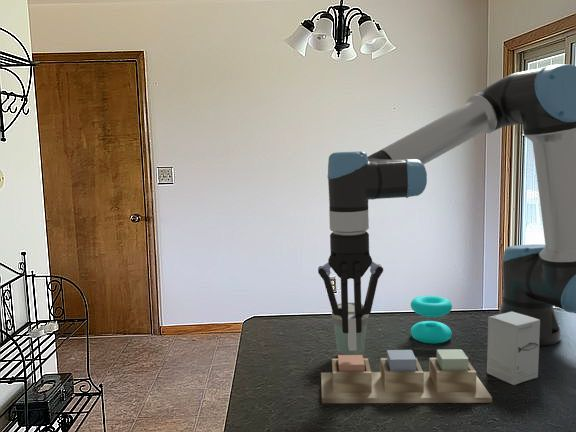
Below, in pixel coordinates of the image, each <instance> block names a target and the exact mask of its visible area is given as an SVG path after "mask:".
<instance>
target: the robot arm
mask: <svg viewBox="0 0 576 432" xmlns="http://www.w3.org/2000/svg"><path fill="white" fill-rule="evenodd" d="M515 125H522V130H523V136H524V137H525V138H526V139H528V140H529V141H531V143H532V150H533V156H534V163H535V164H534V165H535V172H536V181H537V189H538V196H539V205H540V211H541V220H542V222H541V223H542V229H543V236H544V244H520V245H512V246H510V245H509V246H508V247H506V248H505V249H504V251H503V257H502V258H503V259H502V304H501V306H500V309H499V312H498V314H497V315H499V314H503V313H508V312H516V313H519V314H523V315H526V316H530V317H533V318H536V319H539V320H540V337H539V347H540V346H550V345H551V346H552V345H554V344H557V343H558V342H560V341H561V329H560V326H559V322H558V319H557V316H556V312H555V309H554V307H556V308H558V309H561V310H563V311H565V312H567V313H571V314H573V313H574V314H576V65H575V64H571V63H570V64H569V63H566V64H565V63H562V64H549V65H546V66H542V67H538V68H532V69H528V70H523V71H518V72H514V73H511V74H509V75H506V76H505V77H502V78H500V79H499V80H497V81H496V82H494V83H492V84H490V85H489V86H487V87H485V88H483V89H481V90H480V91H478V92H476V93H475V94H473V95H471V96H469V98H468V99H467V100H466V103H465V104H463V105H461V106H459V107H458V108H456V109H454V110H452V111H451V112H449V113H446V114H445V115H443V116H441V117H439V118H437V119H436V120H434V121H432V122H430V123H428V124H426V125H424V126H422V127H420V128H419V129H417V130H415V131H413V132H411V133H409V134H408V135H406V136H404V137H402V138H400V139H398V140H396V141H395V142H393V143H391V144H389V145H387V146H385V147H383V148H381V149H380V150H378V151H376V152H374V153H372V154H370V155H368V154H367V152H365V151H339V152H338V151H337V152H333V153H331V154H330V155H329V156H328V161H327V162H328V164H327V181H328V182H327V183H328V185H327V186H328V202H329V211H328V213H329V214H328V215H329V230H330V231H331V233H330V234H329V242H330V245H329V246H330V247H329V248H330V250H329V251H330V255H329V256H328V260H327V261H328V262H326V263H325V264H323V265H320V266H318V268H317V272H318V275H319V276H320V277H321V279H322V280H323V282H324V286H325V290H326V293H327V297H328V300H329V304H330V308H331V312H332V311H333V314H334V315H338V316H340V317H341V318H342V331H343V333H348V347H349V351H357V346H356V333H361V331H362V320H361V319H362V316H364V315H366V314H367V315H368V314H369V315H370V314H371V312H372V309H373V304H374V301H375V299H374V298H375V296H376V295H375V294H376V291H377V287H378V286H377V285H378V282H379V279H380V277H381V276H382V274H383V272H384V267H383V266H382V265H381V264H380V263H379V264H378V263H376V262H375V261H373V258H372V256H371V254H370V234H369V233H368V231H369V230H368V229H370V226H369V224H370V223H369V201H370V200H372V201H373V200H381V199H398V198H406V199H408V198H411V197H417V196H420V195H422V194H423V193H424V191H425V189H426V188H427V183H428V179H427V178H428V174H427V169H426V167H425V164H428V163H429V162H431V161H432V160H435V159H437V158H439V157H440V156H443V155H445V154H446V153H447V152H450V151H451V150H453V149H455V148H457V147H458V146H461V145H462V144H465V142H467V141H469V140H471V139H473V138H475V137H476V136H478V135H480V134H491V133H493V132H495V131H497V130H499V129H502V128H505V127H509V126H515ZM369 268H370V269H369ZM331 270H332V271H333V272H334V273H335V274H336V276H337V277H338V278H340V298H341V300H340V301H341V302H340V303H341V308H339V307H338V305H337V304H338V301H337V298H336V295H335V291H334V287H333V283H332V281H331V277H330V275H331ZM367 270H369V272H370V273H371V274H370V277H369V282H368V285H367V291H366V296H365V299H364V303H363V305H364V307H362V308H361V304H362V278H363V276H364V275H365V274H366V272H367ZM351 279H353V300H354V302H353V303H354V310H355V314H353V315H348V302H349V294H348V293H349V292H348V291H349V289H348V287H349V286H348V282H349V281H348V280H351Z"/></svg>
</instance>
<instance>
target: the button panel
mask: <svg viewBox="0 0 576 432" xmlns="http://www.w3.org/2000/svg"><path fill="white" fill-rule="evenodd" d="M415 358H416V371H388V368H387V357H380V359H379V360H380V362H379V363H380V371H372V370H371V366H370V363H369V362H370V361H369V358H368V357H367V358H364V357H363V360H364V364H365V371H355V372H338V358H331V368H332V369H331V372H330V371H329V372H320V377H321V378H320V379H321V381H320V383H321V384H320V387H321V404H423V403H424V404H432V403H433V404H440V403H441V404H444V403H445V404H449V403H450V404H451V403H452V404H455V403H456V404H457V403H463V404H464V403H466V404H469V403H471V404H473V403H474V404H475V403H477V404H478V403H484V404H485V403H487V404H489V403H493V396H492V395H491V394H490V393H489V391H488V390H487V388H486V387H485V385H484V384H483V383H482V381H481V380H480V378H479V377H478V374H477V371H476V370H475V368H474V367H473V366H472V364H471V363H470V362H469V360H468V371H440V369H439V367H438V365H437V357H429V358H428V362H429V363H428V364H429V365H428V369H429V370H428V371H423V368H422V366H421V364H420V362H419V360H418V357H415Z"/></svg>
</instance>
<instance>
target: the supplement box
mask: <svg viewBox="0 0 576 432" xmlns="http://www.w3.org/2000/svg"><path fill="white" fill-rule="evenodd" d="M498 314H499V313H498ZM498 314H496V315H491V316H488V317H487V319H488V321H487V356H486V357H487V358H486V359H487V362H486V374H488V375H491V376H493V377H495V378H497V379H499V380H501V381H504V382H505V383H508V384H510V385H512V386H516V385H518V384H521V383H523V382H526V381H531V380H533V379H537V378H538V377H539V359H540V346H539V337H540V320H539V319H536V318H533V317H530V316H526V315H523V314H519V313H516V312H508V313H503V314H499V315H498Z"/></svg>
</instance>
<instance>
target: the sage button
mask: <svg viewBox="0 0 576 432" xmlns="http://www.w3.org/2000/svg"><path fill="white" fill-rule="evenodd" d="M436 358H437V365H438V367H439V369H440V371H468V361H469V359H470V358H469V357H468V356H467V355H466V353H465V352H464V350H462V349H460V348H459V349H453V348H451V349H449V348H448V349H447V348H446V349H436Z"/></svg>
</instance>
